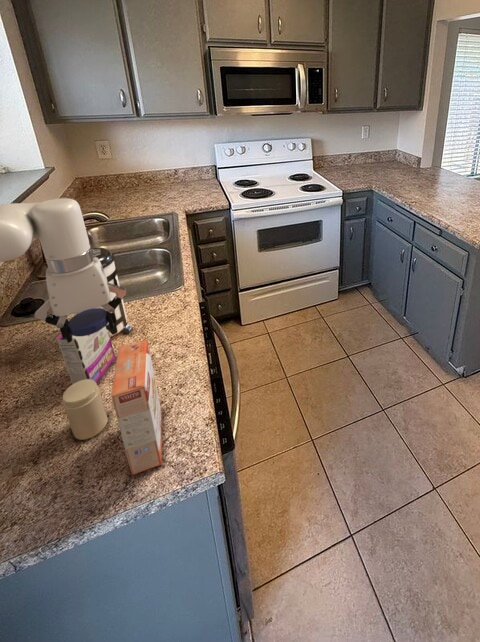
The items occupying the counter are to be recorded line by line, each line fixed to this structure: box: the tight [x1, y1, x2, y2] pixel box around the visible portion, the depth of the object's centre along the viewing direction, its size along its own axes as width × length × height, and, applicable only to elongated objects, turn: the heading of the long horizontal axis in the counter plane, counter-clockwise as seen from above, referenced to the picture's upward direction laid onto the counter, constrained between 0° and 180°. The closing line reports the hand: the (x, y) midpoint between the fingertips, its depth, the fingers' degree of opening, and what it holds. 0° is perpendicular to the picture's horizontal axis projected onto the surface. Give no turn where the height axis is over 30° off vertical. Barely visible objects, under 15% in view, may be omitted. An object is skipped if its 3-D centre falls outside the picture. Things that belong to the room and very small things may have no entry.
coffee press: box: [75, 246, 133, 338], centre depth 104 cm, size 17×16×30 cm
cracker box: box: [110, 339, 163, 476], centre depth 73 cm, size 14×6×21 cm, turn 23°
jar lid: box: [68, 308, 108, 336], centre depth 77 cm, size 7×7×2 cm
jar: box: [62, 379, 109, 441], centre depth 78 cm, size 7×7×11 cm
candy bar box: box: [55, 326, 117, 385], centre depth 91 cm, size 11×5×16 cm, turn 0°
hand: (91, 331), depth 78 cm, fingers closed on jar lid, 7 cm apart
